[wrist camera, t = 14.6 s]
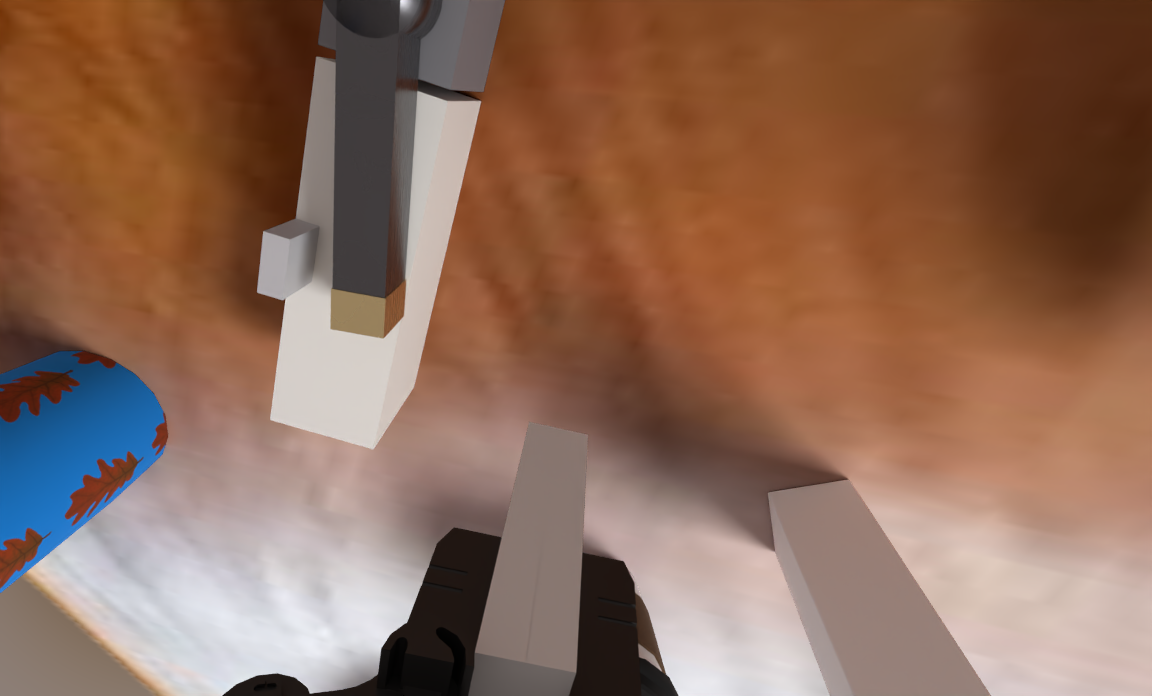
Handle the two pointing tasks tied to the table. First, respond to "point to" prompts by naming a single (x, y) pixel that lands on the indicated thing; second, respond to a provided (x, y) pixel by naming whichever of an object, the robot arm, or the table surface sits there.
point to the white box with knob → (305, 245)
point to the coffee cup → (650, 654)
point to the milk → (862, 600)
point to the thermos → (68, 449)
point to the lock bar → (374, 157)
